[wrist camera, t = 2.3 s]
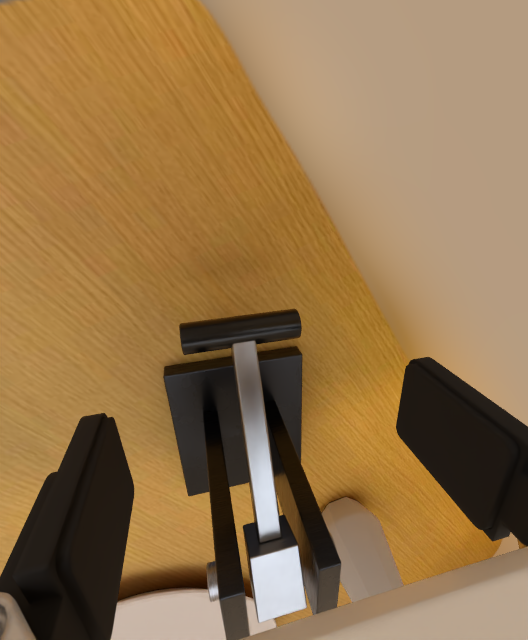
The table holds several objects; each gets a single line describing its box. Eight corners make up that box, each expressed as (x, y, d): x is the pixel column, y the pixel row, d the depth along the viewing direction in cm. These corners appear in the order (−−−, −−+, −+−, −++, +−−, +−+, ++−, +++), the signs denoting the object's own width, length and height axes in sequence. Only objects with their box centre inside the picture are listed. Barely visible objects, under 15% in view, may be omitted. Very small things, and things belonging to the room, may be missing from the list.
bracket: (164, 366, 21) (145, 563, 10) (297, 345, 22) (397, 496, 12) (188, 483, 25) (192, 701, 15) (296, 459, 27) (368, 639, 17)
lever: (181, 324, 16) (177, 322, 13) (288, 310, 17) (302, 306, 14) (217, 590, 16) (219, 636, 13) (322, 559, 17) (342, 597, 14)
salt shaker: (370, 485, 31) (482, 670, 19) (363, 523, 33) (460, 708, 22) (313, 498, 30) (396, 704, 18) (310, 537, 32) (382, 740, 20)
